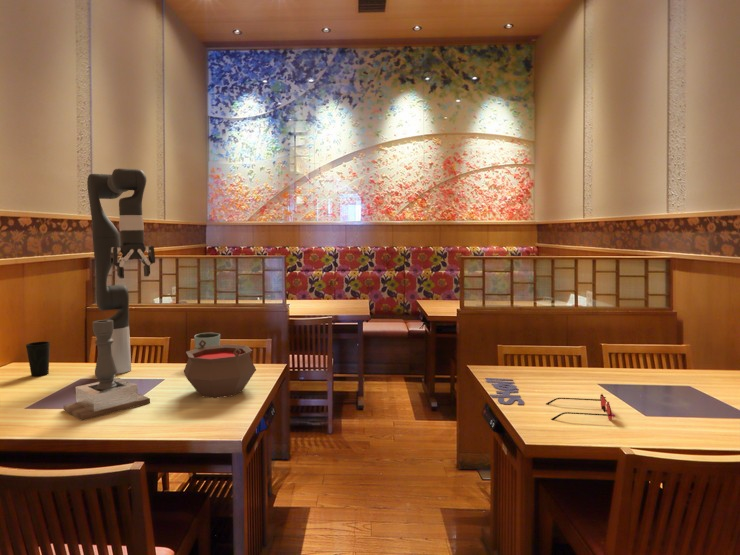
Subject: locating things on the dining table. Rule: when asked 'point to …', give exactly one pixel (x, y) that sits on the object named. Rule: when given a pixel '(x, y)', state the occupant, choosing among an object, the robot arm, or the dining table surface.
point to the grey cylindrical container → (207, 339)
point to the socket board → (86, 413)
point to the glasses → (603, 406)
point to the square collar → (106, 395)
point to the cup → (38, 358)
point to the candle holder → (104, 354)
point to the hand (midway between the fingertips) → (134, 277)
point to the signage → (505, 391)
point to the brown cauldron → (219, 369)
